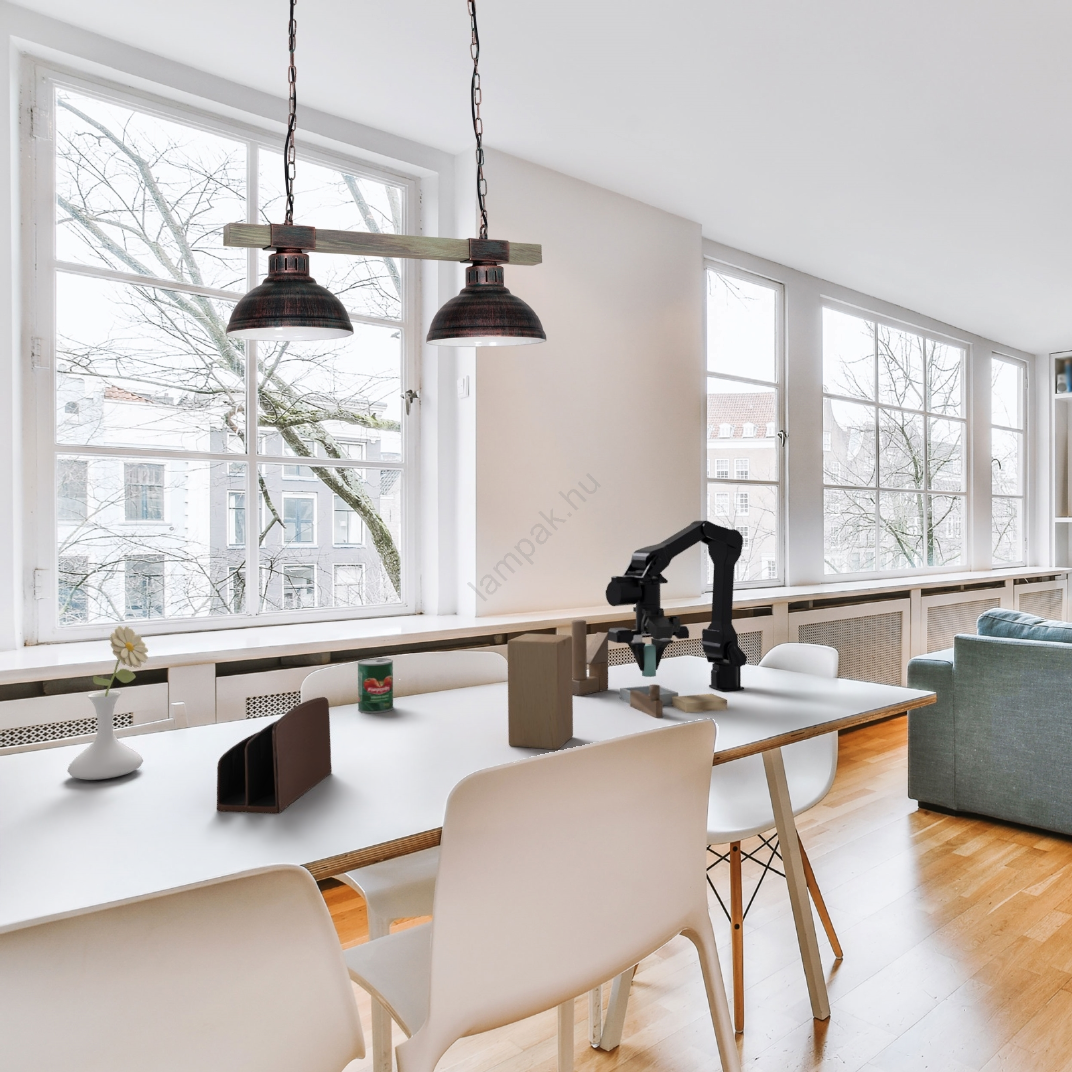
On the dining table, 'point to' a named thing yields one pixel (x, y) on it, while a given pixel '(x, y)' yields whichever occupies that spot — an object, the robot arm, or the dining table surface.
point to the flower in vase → (111, 717)
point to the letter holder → (277, 762)
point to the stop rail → (648, 701)
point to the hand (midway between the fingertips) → (648, 670)
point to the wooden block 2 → (588, 660)
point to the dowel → (649, 661)
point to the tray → (664, 693)
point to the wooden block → (540, 691)
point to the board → (699, 703)
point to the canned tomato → (375, 685)
